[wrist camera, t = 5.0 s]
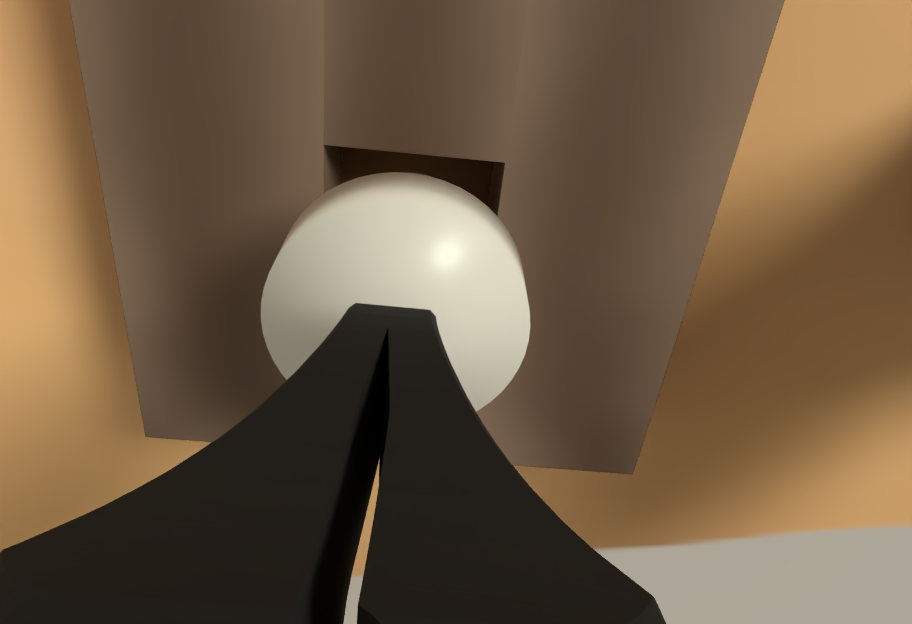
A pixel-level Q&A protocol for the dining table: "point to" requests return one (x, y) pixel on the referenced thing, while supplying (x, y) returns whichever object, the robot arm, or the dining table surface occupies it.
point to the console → (428, 133)
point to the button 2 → (402, 274)
